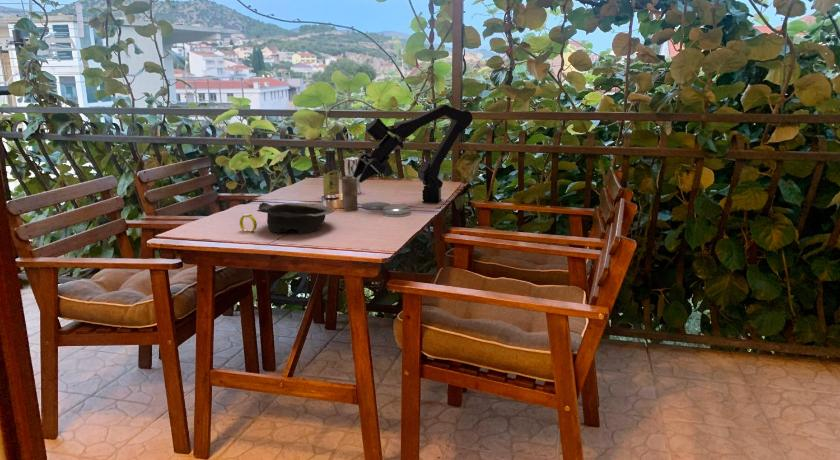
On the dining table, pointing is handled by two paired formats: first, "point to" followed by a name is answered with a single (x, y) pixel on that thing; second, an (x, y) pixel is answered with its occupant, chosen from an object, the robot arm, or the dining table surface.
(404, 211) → the round metal lid
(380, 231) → the dining table surface
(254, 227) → the watch
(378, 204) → the coaster
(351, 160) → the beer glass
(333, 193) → the sauce bottle
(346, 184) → the pepper mill
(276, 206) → the stone bowl
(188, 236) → the dining table surface
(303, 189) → the dining table surface
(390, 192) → the dining table surface
